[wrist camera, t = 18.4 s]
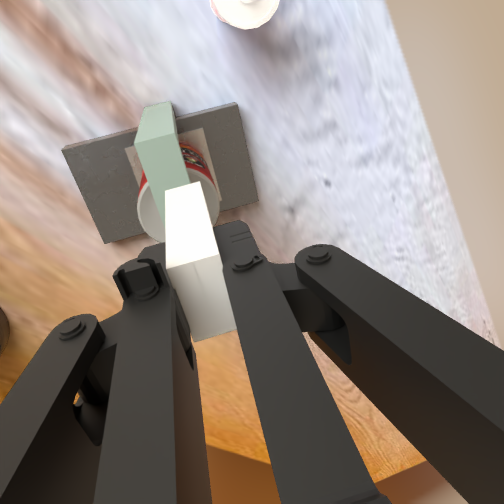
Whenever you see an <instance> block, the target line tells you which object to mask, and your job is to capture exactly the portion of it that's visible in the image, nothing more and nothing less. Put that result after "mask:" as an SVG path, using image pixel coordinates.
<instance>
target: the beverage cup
mask: <svg viewBox="0 0 504 504" xmlns="http://www.w3.org/2000/svg"><path fill="white" fill-rule="evenodd" d="M278 4H279V0H210V6H211V8H212V10H213V12H214V14H215V16H217V17H218V18H219V19H220V20H221V21H222V22H225V23H228V24H230V25H231V26H234V27H237V28H240V29H244V30H245V29H252V28H258V27H260V26H261V25H263V24H264V23H266V22H267V21H269V20H270V18H271V17H272V15H273V14H274V12H275V11H276V9H277V8H278Z"/></svg>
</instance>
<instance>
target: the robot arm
mask: <svg viewBox="0 0 504 504" xmlns="http://www.w3.org/2000/svg"><path fill="white" fill-rule="evenodd" d="M165 229H166V242H163V243H160V244H156V245H153V246H149V247H145V248H144V249H143V250H142V252H141V253H140V254H139V256H138V258H136V259H133V260H130V261H128V262H126V263H125V264H123V265H121V266H120V267H119V268H118V269H117V270H116V271H115V272H114V274H113V279H114V281H115V283H116V285H117V287H118V289H119V291H120V293H121V296H122V298H123V300H124V301H123V308H122V310H121V311H120V312H119V313H117V314H115V315H113V316H111V317H109V318H107V319H105V320H103V321H101V322H98V320H97V318H96V316H94V315H91V314H81V315H77V316H73V317H70V318H69V319H66V320H64V321H63V322H62V323H61V324H59V325H58V326H56V327H55V328H54V329H53V330H52V331H51V333H50V334H49V335H48V337H47V338H46V339H45V341H44V342H43V344H42V345H41V347H40V348H39V350H38V351H37V352H36V354H35V355H34V357H33V358H32V360H31V361H30V363H29V364H28V365H27V367H26V368H25V370H24V371H23V373H22V374H21V376H20V377H19V378H18V380H17V381H16V383H15V384H14V386H13V387H12V389H11V390H10V391H9V393H8V394H7V396H6V397H5V399H4V400H3V402H2V403H1V404H0V504H212V497H211V489H210V479H209V470H208V461H207V452H206V442H205V433H204V424H203V415H202V406H201V397H200V388H199V378H198V369H197V360H196V353H195V350H194V348H193V345H192V343H191V336H192V338H193V341H194V342H197V341H201V340H204V339H207V338H211V337H214V336H217V335H221V334H224V333H227V332H230V331H234V330H237V331H238V335H239V339H240V343H241V347H242V351H243V355H244V359H245V363H246V367H247V371H248V375H249V379H250V382H251V386H252V390H253V394H254V398H255V402H256V406H257V410H258V414H259V418H260V422H261V426H262V430H263V434H264V438H265V442H266V445H267V449H268V453H269V457H270V461H271V465H272V469H273V473H274V477H275V481H276V485H277V488H278V493H279V497H280V500H281V504H392V503H391V502H390V500H389V499H388V498H387V496H385V495H383V494H381V493H380V492H379V491H378V489H377V488H376V486H375V484H374V482H373V480H372V478H371V476H370V474H369V472H368V470H367V468H366V466H365V464H364V462H363V459H362V457H361V455H360V453H359V451H358V449H357V447H356V445H355V443H354V441H353V438H352V436H351V434H350V432H349V430H348V428H347V426H346V424H345V422H344V420H343V417H342V415H341V413H340V411H339V409H338V407H337V405H336V403H335V401H334V399H333V397H332V394H331V392H330V390H329V388H328V386H327V384H326V382H325V380H324V378H323V376H322V373H321V371H320V369H319V367H318V365H317V363H316V361H315V359H314V357H313V355H312V352H311V350H310V348H309V346H308V344H307V342H306V340H305V338H304V336H303V334H302V332H308V334H309V336H310V338H311V339H312V340H313V341H314V342H315V343H316V344H317V345H318V347H319V348H320V349H321V350H322V351H323V352H324V353H325V354H326V355H327V356H328V357H329V358H330V359H331V360H332V361H333V362H334V363H335V364H336V365H337V366H338V367H339V368H340V370H341V371H342V372H343V373H344V374H345V375H346V376H347V377H348V378H349V379H350V380H351V381H352V382H353V383H354V384H355V385H356V386H357V387H358V388H359V389H360V390H361V391H362V393H363V394H364V395H365V396H366V397H367V398H368V399H369V400H370V401H371V402H372V403H373V404H374V405H375V406H376V407H377V408H378V409H379V410H380V411H381V412H382V413H383V414H384V415H385V417H386V418H387V419H388V420H389V421H390V422H391V423H392V424H393V425H394V426H395V427H396V428H397V429H398V430H399V431H400V432H401V433H402V434H403V435H404V436H405V437H406V438H407V440H408V441H409V442H410V443H411V444H412V445H413V446H414V447H415V448H416V449H417V450H418V451H419V452H420V453H421V454H422V455H423V456H424V457H425V458H426V459H427V460H428V461H429V463H430V464H431V465H432V466H433V467H434V468H435V469H436V470H437V471H438V472H439V473H440V474H441V475H442V476H443V477H444V478H445V479H446V480H447V481H448V482H449V483H450V484H451V485H452V487H453V488H454V489H455V490H456V491H457V492H458V493H459V494H460V495H461V496H462V497H463V498H464V499H465V500H466V501H467V502H468V503H469V504H504V351H503V350H501V349H500V348H498V347H497V346H495V345H493V344H492V343H490V342H489V341H487V340H485V339H484V338H482V337H481V336H479V335H477V334H476V333H474V332H473V331H471V330H469V329H468V328H466V327H465V326H463V325H461V324H460V323H458V322H457V321H455V320H453V319H452V318H450V317H449V316H447V315H445V314H444V313H442V312H441V311H439V310H437V309H436V308H434V307H433V306H431V305H429V304H428V303H426V302H425V301H423V300H421V299H420V298H418V297H416V296H415V295H413V294H412V293H410V292H408V291H407V290H405V289H404V288H402V287H400V286H399V285H397V284H396V283H394V282H392V281H391V280H389V279H388V278H386V277H384V276H383V275H381V274H380V273H378V272H376V271H375V270H373V269H372V268H370V267H368V266H367V265H365V264H364V263H362V262H360V261H359V260H357V259H356V258H354V257H352V256H351V255H349V254H348V253H346V252H344V251H343V250H341V249H340V248H338V247H335V246H333V245H326V244H318V245H312V246H310V247H307V248H304V249H303V250H301V251H299V252H298V254H297V255H296V256H295V263H290V264H276V263H271V262H268V260H267V258H266V257H265V256H264V255H263V254H261V253H260V251H259V249H258V246H257V244H256V242H255V240H254V238H253V236H252V234H251V232H250V229H249V227H248V225H247V224H246V223H244V222H242V221H240V220H237V221H234V222H230V223H227V224H223V225H220V226H216V227H213V225H212V221H211V218H210V214H209V211H208V207H207V204H206V201H205V197H204V194H203V190H202V187H201V184H200V181H199V182H195V183H192V184H188V185H184V186H181V187H177V188H173V189H170V190H166V191H165ZM190 333H191V336H190ZM8 338H9V325H8V321H7V319H6V317H5V315H4V313H3V311H2V310H1V308H0V356H1V354H2V352H3V350H4V348H5V346H6V344H7V342H8ZM77 392H78V394H79V396H80V397H79V399H78V401H77V403H76V404H75V405H74V404H73V402H74V399H75V396H76V393H77Z"/></svg>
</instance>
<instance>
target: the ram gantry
mask: <svg viewBox="0 0 504 504" xmlns="http://www.w3.org/2000/svg"><path fill="white" fill-rule="evenodd" d="M134 145H135V148H136V151H137V153H138V156H139V159H140V162H141V165H142V167H143V170H144V173H145V176H146V178H147V181H148V184H149V187H150V189H151V192H152V195H153V198H154V200H155V203H156V206H157V209H158V211H159V214H160V217H161V220H162V222H163V225H164V228H165V191H166V190H170V189H173V188H177V187H181V186H184V185H188V184H191V181H190V178H189V175H188V172H187V168H186V165H185V162H184V158H183V155H182V152H181V149H180V145H179V140H178V134H177V127H176V121H175V115H174V111H173V108H172V104H171V101H168V102H164V103H160V104H156V105H152V106H148V107H144V111H143V114H142V118H141V121H140V124H139V128H138V131H137V134H136V138H135V141H134ZM165 231H166V229H165Z"/></svg>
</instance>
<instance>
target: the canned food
mask: <svg viewBox="0 0 504 504" xmlns="http://www.w3.org/2000/svg"><path fill="white" fill-rule="evenodd" d="M179 145H180V149H181V152H182V155H183V158H184V162H185V165H186V168H187V172H188V175H189V178H190V181H191V184H192V183H195V182H199V181H200V184H201V187H202V190H203V194H204V197H205V201H206V204H207V207H208V211H209V214H210V218H211V221H212V225H213V227H214V226H215V224H216V221H217V219H218V216H219V211H220V200H219V195H218V192H217V189H216V186H215V183H214V181H213V178H212V176H211V173H210V170H209V168H208V165H207V163H206V161H205V159H204V158H203V156H202V155H201V154H200V153H199V152H198V151H196V150H195V149H193V148H191V147H189V146H186V145H181V144H179ZM137 211H138V218H139V221H140V224H141V226H142V227H143V229H144V231H145V232H146V233H147V234H148V235H149V236H150V237H151V238H153V239H154V240H155V241H157V242H160V243H163V242H166V231H165V228H164V225H163V222H162V220H161V217H160V214H159V211H158V209H157V206H156V203H155V200H154V198H153V195H152V192H151V189H150V187H149V184H148V181H147V178H146V176H145V173H144V170H143V172H142V178H141V183H140V189H139V194H138V202H137Z"/></svg>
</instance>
